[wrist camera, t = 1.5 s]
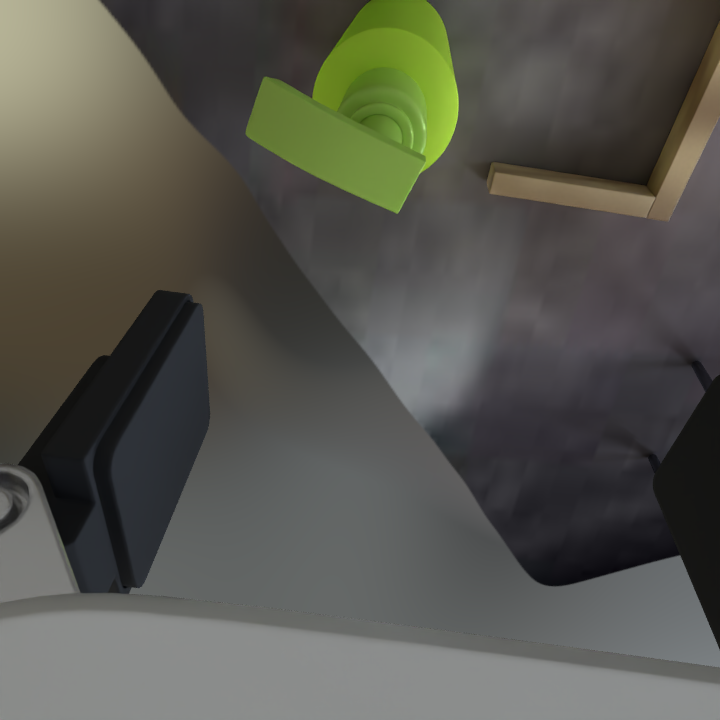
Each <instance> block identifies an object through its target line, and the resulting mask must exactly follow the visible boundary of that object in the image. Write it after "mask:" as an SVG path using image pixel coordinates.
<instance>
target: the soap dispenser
mask: <svg viewBox="0 0 720 720" xmlns="http://www.w3.org/2000/svg"><path fill="white" fill-rule="evenodd" d="M457 117H458V92H457V86H456V81H455V76H454V70H453V65H452V60H451V54H450V49H449V44H448V38H447V33H446V29H445V26H444V24H443V21H442V19H441V17H440V16H439V14H438V13H437V11H436V10H435V9H434V8H433V7H432V6H431V5H430V4H429V3H428V2H427V1H426V0H371V1H370V2H368V3H367V4H366V5H365V6H364V7H363V8H362V9H361V10H360V11H359V13H358V14H357V15H356V17H355V18H354V20H353V21H352V23H351V24H350V25H349V27H348V28H347V30H346V31H345V33H344V34H343V36H342V37H341V38H340V40H339V41H338V43H337V44H336V46H335V47H334V49H333V50H332V51H331V53H330V54H329V56H328V57H327V59H326V60H325V62H324V63H323V65H322V67H321V69H320V71H319V73H318V76H317V78H316V82H315V85H314V90H313V96H312V98H310V97H308V96H306V95H305V94H303V93H301V92H299V91H298V90H296V89H294V88H293V87H291V86H289V85H288V84H286V83H284V82H283V81H281V80H278V79H274V78H270V77H264V78H263V80H262V83H261V86H260V89H259V92H258V95H257V98H256V101H255V104H254V107H253V110H252V113H251V116H250V119H249V122H248V125H247V128H246V136H248V137H249V138H250V139H252V140H253V141H255V142H257V143H258V144H260V145H261V146H263V147H265V148H266V149H268V150H270V151H271V152H273V153H274V154H276V155H278V156H280V157H281V158H283V159H285V160H286V161H288V162H290V163H292V164H293V165H295V166H297V167H299V168H301V169H303V170H305V171H306V172H308V173H310V174H312V175H314V176H316V177H318V178H320V179H322V180H324V181H326V182H328V183H330V184H332V185H335V186H337V187H339V188H341V189H343V190H345V191H347V192H350V193H352V194H354V195H356V196H358V197H361V198H363V199H365V200H367V201H370V202H372V203H374V204H376V205H379V206H381V207H383V208H385V209H388V210H390V211H392V212H394V213H397V214H398V212H399V211H400V209H401V207H402V205H403V203H404V202H405V200H406V198H407V196H408V194H409V192H410V191H411V189H412V187H413V185H414V183H415V181H416V180H417V178H418V176H419V174H420V173H421V172H423V171H424V170H426V169H427V168H428V167H430V166H431V165H432V164H433V163H434V162H435V161H436V160H437V159H438V158H439V157H440V156H441V154H442V153H443V152H444V150H445V149H446V147H447V145H448V144H449V142H450V140H451V138H452V135H453V133H454V130H455V126H456V122H457Z"/></svg>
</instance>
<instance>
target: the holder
mask: <svg viewBox="0 0 720 720" xmlns="http://www.w3.org/2000/svg"><path fill="white" fill-rule="evenodd" d="M719 116H720V21H719V23H718V25H717V28H716V30H715V32H714V35H713V37H712V39H711V41H710V44H709V46H708V48H707V50H706V53H705V55H704V57H703V59H702V62H701V64H700V66H699V68H698V71H697V73H696V75H695V77H694V80H693V82H692V84H691V86H690V89H689V91H688V93H687V95H686V98H685V100H684V102H683V104H682V107H681V109H680V111H679V113H678V116H677V118H676V120H675V122H674V125H673V127H672V129H671V131H670V134H669V136H668V138H667V141H666V143H665V145H664V147H663V150H662V152H661V154H660V156H659V159H658V161H657V163H656V165H655V168H654V170H653V172H652V174H651V177H650V179H649V181H648V183H647V186H645V185H639V184H633V183H626V182H620V181H613V180H607V179H601V178H594V177H588V176H581V175H575V174H569V173H562V172H556V171H549V170H543V169H536V168H530V167H524V166H517V165H511V164H504V163H498V162H492V163H491V167H490V171H489V174H488V178H487V186H488V190H489V193H490V194H496V195H502V196H509V197H515V198H521V199H528V200H534V201H541V202H547V203H554V204H560V205H566V206H573V207H579V208H586V209H592V210H599V211H605V212H611V213H618V214H624V215H631V216H637V217H644V218H648V219H655V220H661V221H669V219H670V217H671V215H672V213H673V211H674V209H675V207H676V205H677V203H678V201H679V199H680V196H681V194H682V192H683V190H684V188H685V186H686V184H687V182H688V180H689V178H690V176H691V174H692V172H693V170H694V168H695V166H696V164H697V162H698V160H699V157H700V155H701V153H702V151H703V149H704V147H705V145H706V143H707V141H708V139H709V137H710V135H711V133H712V131H713V129H714V127H715V125H716V123H717V120H718V118H719Z"/></svg>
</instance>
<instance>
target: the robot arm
mask: <svg viewBox="0 0 720 720" xmlns="http://www.w3.org/2000/svg"><path fill="white" fill-rule="evenodd" d="M205 348H206V346H205V332H204V316H203V308H202V305H201V304H199V303H193V299H192V296H191V295H190V294H185V293H178V292H170V291H163V290H158V291H156V292H155V293H154V295H153V296H152V298H151V299H150V301H149V302H148V303H147V305H146V306H145V307H144V309H143V310H142V312H141V313H140V314H139V316H138V317H137V319H136V320H135V322H134V323H133V325H132V326H131V327H130V328H129V330H128V331H127V333H126V334H125V336H124V337H123V338H122V340H121V341H120V342H119V344H118V345H117V347H116V348H115V350H114V351H113V352H112V354H111V356H105V355H103V356H101V357H99V358H98V359H96V361H95V362H94V363H93V364H92V365H91V367H90V368H89V369H88V371H87V372H86V374H85V375H84V376H83V378H82V379H81V380H80V381H79V383H78V384H77V385H76V387H75V388H74V390H73V391H72V392H71V394H70V395H69V396H68V398H67V399H66V400H65V402H64V403H63V404H62V406H61V407H60V409H59V410H58V411H57V413H56V414H55V415H54V417H53V418H52V419H51V421H50V422H49V423H48V425H47V426H46V428H45V429H44V430H43V431H42V433H41V434H40V436H39V437H38V438H37V440H36V441H35V442H34V444H33V445H32V446H31V448H30V449H29V451H28V452H27V453H26V455H25V456H24V457H23V459H22V460H21V461H20V463H19V464H18V465H13V464H9V463H0V720H720V668H719V667H712V666H705V665H697V664H690V663H682V662H676V661H668V660H661V659H654V658H647V657H639V656H632V655H625V654H617V653H610V652H603V651H595V650H588V649H580V648H573V647H565V646H558V645H550V644H543V643H536V642H528V641H520V640H513V639H505V638H498V637H491V636H483V635H475V634H467V633H460V632H453V631H445V630H437V629H430V628H422V627H415V626H406V625H399V624H391V623H383V622H376V621H367V620H360V619H352V618H344V617H336V616H329V615H321V614H312V613H305V612H298V611H290V610H282V609H273V608H265V607H257V606H247V605H239V604H230V603H221V602H212V601H202V600H193V599H185V598H175V597H167V596H152V595H136V594H129V592H130V590H131V588H132V587H134V588H140V587H141V586H142V585H143V583H144V582H145V580H146V578H147V575H148V573H149V570H150V568H151V565H152V563H153V561H154V558H155V556H156V554H157V551H158V549H159V546H160V544H161V541H162V539H163V537H164V534H165V532H166V529H167V527H168V524H169V522H170V520H171V517H172V515H173V512H174V510H175V508H176V505H177V503H178V500H179V498H180V495H181V493H182V491H183V488H184V486H185V483H186V481H187V478H188V476H189V473H190V471H191V469H192V467H193V464H194V461H195V459H196V457H197V455H198V452H199V450H200V447H201V445H202V442H203V440H204V438H205V435H206V433H207V430H208V426H209V419H210V406H209V391H208V376H207V361H206V349H205ZM653 490H654V493H655V496H656V498H657V501H658V503H659V505H660V508H661V510H662V513H663V515H664V517H665V520H666V522H667V524H668V527H669V529H670V532H671V534H672V536H673V539H674V541H675V544H676V546H677V548H678V551H679V553H680V556H681V558H682V560H683V562H684V565H685V567H686V569H687V572H688V575H689V577H690V579H691V582H692V584H693V587H694V589H695V591H696V594H697V596H698V598H699V600H700V603H701V605H702V608H703V610H704V613H705V615H706V618H707V620H708V622H709V625H710V627H711V630H712V632H713V634H714V636H715V639H716V642H717V644H718V646H719V649H720V375H718V376H717V377H716V378H715V379H714V380H713V382H712V383H711V385H710V386H709V388H708V390H707V391H706V393H705V394H704V396H703V398H702V399H701V401H700V402H699V404H698V405H697V407H696V409H695V410H694V412H693V413H692V415H691V417H690V418H689V420H688V421H687V423H686V425H685V426H684V428H683V429H682V431H681V433H680V434H679V436H678V437H677V439H676V441H675V442H674V444H673V445H672V447H671V449H670V450H669V452H668V453H667V455H666V457H665V458H664V460H663V461H662V463H661V465H660V466H659V468H658V469H657V471H656V473H655V475H654V479H653Z"/></svg>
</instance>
